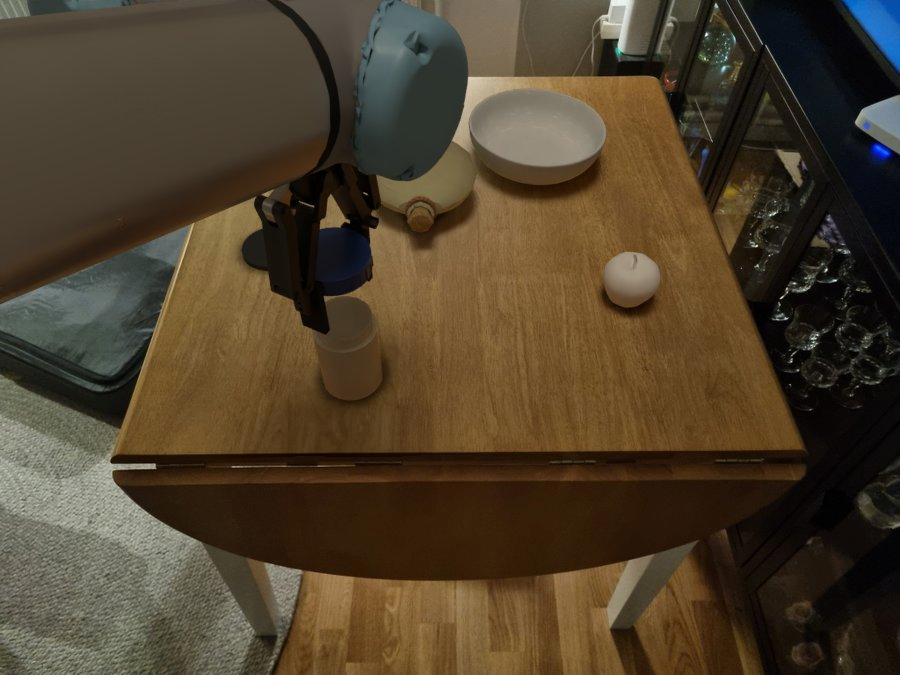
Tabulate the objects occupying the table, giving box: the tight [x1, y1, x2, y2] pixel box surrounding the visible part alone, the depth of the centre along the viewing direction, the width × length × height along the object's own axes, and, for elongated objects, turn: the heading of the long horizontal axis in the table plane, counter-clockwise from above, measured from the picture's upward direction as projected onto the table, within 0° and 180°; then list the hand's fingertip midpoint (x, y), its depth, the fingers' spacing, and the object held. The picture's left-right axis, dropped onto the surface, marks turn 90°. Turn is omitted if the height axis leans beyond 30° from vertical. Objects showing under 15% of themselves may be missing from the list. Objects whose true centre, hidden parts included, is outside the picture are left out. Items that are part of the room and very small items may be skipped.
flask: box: [376, 140, 478, 233], centre depth 92 cm, size 9×16×18 cm
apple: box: [602, 251, 661, 309], centre depth 82 cm, size 7×7×8 cm
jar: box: [311, 295, 384, 401], centre depth 72 cm, size 7×7×11 cm
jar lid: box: [315, 226, 374, 297], centre depth 62 cm, size 8×8×2 cm
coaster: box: [241, 228, 268, 271], centre depth 89 cm, size 8×8×1 cm
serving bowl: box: [468, 87, 608, 186], centre depth 101 cm, size 21×21×7 cm
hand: (339, 300), depth 66 cm, fingers closed on jar lid, 7 cm apart
